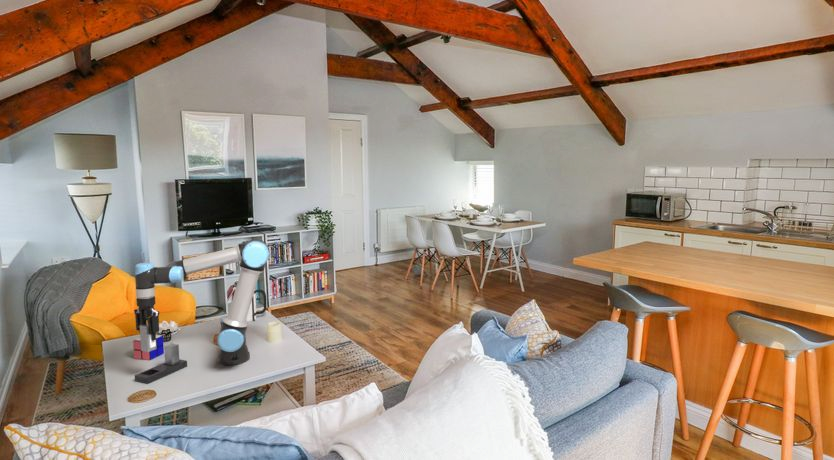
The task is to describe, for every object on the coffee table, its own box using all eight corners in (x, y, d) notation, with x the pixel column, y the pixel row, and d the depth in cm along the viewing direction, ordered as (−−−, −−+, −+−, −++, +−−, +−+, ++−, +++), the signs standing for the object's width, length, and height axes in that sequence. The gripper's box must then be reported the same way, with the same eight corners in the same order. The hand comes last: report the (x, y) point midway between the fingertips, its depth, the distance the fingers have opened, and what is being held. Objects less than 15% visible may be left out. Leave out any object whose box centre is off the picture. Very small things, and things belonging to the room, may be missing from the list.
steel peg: (147, 352, 216) (146, 326, 215) (141, 350, 218) (139, 325, 217) (156, 348, 220) (155, 323, 219) (149, 347, 222) (148, 322, 221)
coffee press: (245, 327, 297) (243, 280, 294) (229, 323, 306) (227, 277, 302) (267, 320, 311) (266, 275, 308) (252, 316, 320) (250, 273, 317)
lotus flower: (152, 333, 285) (151, 319, 284) (179, 329, 294) (178, 315, 293) (155, 340, 274) (154, 325, 273) (183, 335, 283) (183, 321, 282)
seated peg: (179, 368, 233) (178, 344, 232) (172, 371, 229) (170, 347, 228) (173, 366, 235) (171, 343, 233) (165, 370, 231) (164, 346, 229)
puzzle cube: (150, 360, 243) (149, 341, 242) (133, 359, 245) (132, 340, 244) (164, 353, 253) (163, 335, 252) (148, 352, 255) (147, 334, 254)
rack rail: (187, 366, 235) (186, 360, 235) (147, 384, 215) (147, 377, 214) (175, 364, 238) (175, 358, 238) (134, 381, 218) (134, 375, 217)
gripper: (166, 296, 217) (169, 346, 219) (139, 293, 223) (142, 341, 226) (152, 300, 210) (155, 351, 212) (124, 296, 216) (127, 346, 219)
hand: (148, 346), depth 219 cm, fingers closed on steel peg, 4 cm apart
